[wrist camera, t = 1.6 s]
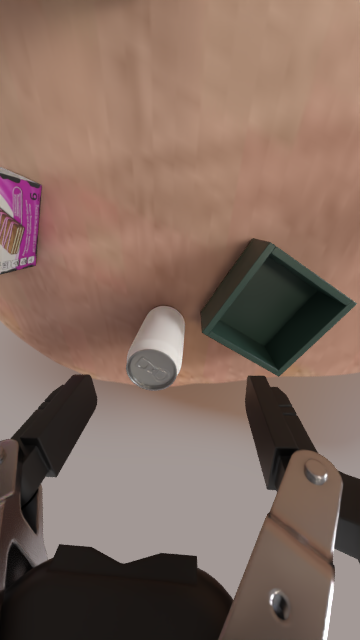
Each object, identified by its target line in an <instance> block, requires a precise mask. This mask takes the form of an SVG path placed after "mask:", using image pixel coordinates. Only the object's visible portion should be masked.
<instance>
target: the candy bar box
mask: <svg viewBox="0 0 360 640" xmlns="http://www.w3.org/2000/svg"><path fill="white" fill-rule="evenodd" d="M41 188H42V185H40V184H38V183H36V182H34V181H31V180H29V179H27V178H25V177H23V176H20V175H18V174H16V173H14V172H11V171H9V170H7V169H5V168H2V167H0V274H4V273H8V272H12V271H16V270H20V269H24V268H28V267H32V266H35V265H36V253H37V239H38V226H39V213H40V200H41Z"/></svg>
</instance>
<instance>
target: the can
mask: <svg viewBox="0 0 360 640" xmlns="http://www.w3.org/2000/svg"><path fill="white" fill-rule="evenodd" d="M184 332H185V322H184V318H183V316H182V315H181V313H180V312H179V311H177V310H176V309H174V308H172V307H169V306H159V307H156V308H154V309H152V310H151V311H150V312H149V313H148V314H147V316H146V318H145V320H144V322H143V324H142V325H141V327H140V329H139V331H138V333H137V335H136V337H135V339H134V341H133V343H132V345H131V347H130V349H129V351H128V354H127V365H126V371H127V374H128V376H129V378H130V379H131V381H132V382H133V383H134V384H136V385H137V386H139V387H141V388H143V389H146V390H154V391H156V390H162V389H165V388H167V387H169V386H170V385H171V384H172V383H173V382H174V381H175V379H176V376H177V375H178V373H179V371H180V369H181V364H182V355H183V344H184Z"/></svg>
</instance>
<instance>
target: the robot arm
mask: <svg viewBox="0 0 360 640" xmlns="http://www.w3.org/2000/svg"><path fill="white" fill-rule="evenodd" d="M245 404H246V405H245V406H246V413H247V416H248V420H249V424H250V428H251V431H252V435H253V439H254V442H255V446H256V450H257V454H258V457H259V461H260V465H261V468H262V472H263V476H264V479H265V483H266V486H267V489H268V490H276V491H277V495H276V497H275V500H274V502H273V505H272V508H271V510H270V512H269V513H268V514H267V516H266V518H265V521H264V524H263V526H262V528H261V531H260V533H259V536H258V539H257V541H256V544H255V546H254V549H253V551H252V554H251V556H250V559H249V562H248V564H247V567H246V569H245V572H244V575H243V577H242V580H241V582H240V585H239V587H238V590H237V592H236V595H235V598H234V600H233V599H232V597H231V596H230V595H229V594H228V592H227V591H226V590H225V589H224V587H223V586H222V585H221V584H220V583H218V581H217V580H215V579H214V578H213V577H212V576H210V575H209V574H207V573H206V572H205V571H203V570H201V569H199V568H197V556H189V555H178V554H166V553H160V554H157V555H153V556H150V557H146V558H143V559H140V560H136V561H133V562H129V563H125V564H122V563H119V562H117V561H116V560H114V559H112V558H110V557H108V556H107V555H105V554H103V553H101V552H99V551H97V550H96V549H94V548H92V547H84V546H72V545H61V544H59V546H58V549H57V551H56V553H55V555H54V558H52V559H49V560H48V559H47V553H46V549H45V546H44V541H43V507H42V505H43V504H42V486H41V483H42V481H43V479H44V478H45V477H57V476H58V474H59V472H60V470H61V468H62V466H63V465H64V463H65V461H66V460H67V458H68V456H69V454H70V453H71V451H72V449H73V447H74V446H75V444H76V442H77V440H78V439H79V437H80V435H81V433H82V431H83V430H84V428H85V426H86V425H87V423H88V421H89V419H90V417H91V416H92V414H93V412H94V410H95V408H96V405H97V396H96V392H95V388H94V385H93V381H92V378H91V376H90V375H73V376H72V377H71V378H70V379H69V380H68V381H67V382H66V384H65V385H62V386H60V387H59V388H57V389H56V390H55V391H53V392H52V393H51V394H50V395H49V396H48V398H47V399H46V400H45V402H43V403H42V404H41V405H40V406H39V408H38V410H36V411H35V412H34V413H33V414H32V415H31V416H30V418H29V419H28V420H27V421H26V422H25V423H24V424H23V425H22V427H21V428H20V429H19V430H18V431H17V432H16V433H15V434H14V435H13V437H12V438H11V439H6V440H3V441H0V640H327V633H328V626H329V618H330V610H331V603H332V595H333V588H334V577H335V567H334V565H333V552H334V549H337V550H339V551H341V552H343V553H345V554H347V555H349V556H352V557H354V558H356V559H358V561H359V563H360V479H358V478H355V477H352V476H349V475H346V474H344V473H342V472H340V471H338V470H337V469H336V468H335V467H334V465H333V464H332V463H331V462H330V461H328V459H326V458H325V457H323V456H322V455H320V454H318V452H317V451H316V449H315V447H314V445H313V443H312V442H311V440H310V438H309V436H308V435H307V432H306V431H305V429H304V427H303V425H302V423H301V421H300V419H299V418H298V416H297V415H296V412H295V410H294V408H293V407H292V405H291V403H290V401H289V399H288V397H287V396H286V394H284V393H283V392H282V391H281V390H280V389H279V388H278V387H270V386H269V383H268V381H267V379H266V377H265V376H248V378H247V387H246V398H245Z"/></svg>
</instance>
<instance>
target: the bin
mask: <svg viewBox="0 0 360 640" xmlns="http://www.w3.org/2000/svg"><path fill="white" fill-rule="evenodd" d="M356 304H357V303H355V302H354V301H353V300H351V299H350V298H348V297H347V296H346V295H344V294H343V293H341V292H340V291H339V290H337V289H336V288H334V287H333V286H332V285H330V284H329V283H327V282H326V281H324V280H323V279H322V278H320V277H319V276H317V275H316V274H315V273H313V272H312V271H310V270H309V269H308V268H306V267H305V266H303V265H302V264H301V263H299V262H298V261H296V260H295V259H293V258H292V257H291V256H289V255H288V254H286V253H285V252H284V251H282V250H281V249H279V248H278V247H276V246H275V245H274V244H272V243H271V242H267V241H262V240H258V239H254V238H253V239H252V240H251V242H250V243H249V245H248V246H247V247H246V249H245V250H244V252H243V253H242V254H241V256H240V257H239V259H238V260H237V261H236V263H235V264H234V266H233V267H232V268H231V270H230V271H229V273H228V274H227V276H226V277H225V278H224V280H223V281H222V283H221V284H220V285H219V287H218V288H217V290H216V291H215V292H214V294H213V295H212V297H211V298H210V299H209V301H208V302H207V304H206V305H205V306H204V308H203V309H202V311H201V324H202V333H203V334H205V335H207V336H209V337H210V338H212V339H214V340H216V341H217V342H219V343H221V344H223V345H224V346H226V347H228V348H230V349H231V350H233V351H235V352H237V353H238V354H240V355H242V356H244V357H245V358H247V359H249V360H251V361H252V362H254V363H256V364H258V365H259V366H261V367H263V368H265V369H266V370H268V371H270V372H272V373H273V374H275V375H277V376H280V375H281V374H282V373H283V372H284V371H285V370H287V369H288V368H289V367H290V366H291V365H292V364H293V363H294V362H295V361H296V360H297V359H298V358H299V357H301V356H302V355H303V354H304V353H305V352H306V351H307V350H308V349H309V348H310V347H311V346H312V345H313V344H315V343H316V342H317V341H318V340H319V339H320V338H321V337H322V336H323V335H324V334H325V333H326V332H327V331H328V330H330V329H331V328H332V327H333V326H334V325H335V324H336V323H337V322H338V321H339V320H340V319H341V318H342V317H344V316H345V315H346V314H347V313H348V312H349V311H350V310H351V309H352V308H353V307H354V306H355V305H356Z"/></svg>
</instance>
